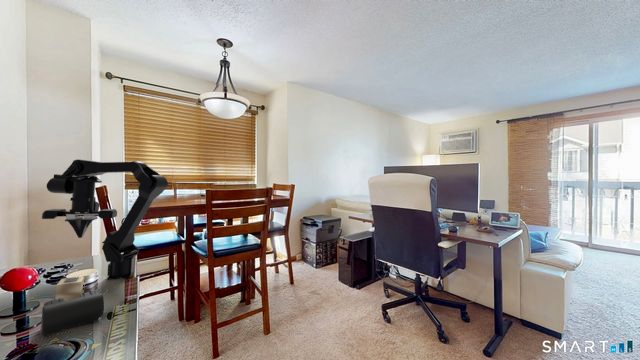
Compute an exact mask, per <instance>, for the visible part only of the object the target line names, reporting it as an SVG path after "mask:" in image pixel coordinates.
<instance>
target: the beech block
mask: <svg viewBox="0 0 640 360" xmlns="http://www.w3.org/2000/svg"><path fill="white" fill-rule="evenodd" d="M76 277H77V278H76ZM83 284H84V277H80V276H75V277H74V276H71V277H64V278H61V279H60V280H59V282H58V283H57V284H56V286H55V300H57V299H59V298H60V299H61V298H63V299H64V301H68V300H72V299H76V298H80V294H82V293H85V289H84V290H83ZM84 285H85V284H84Z"/></svg>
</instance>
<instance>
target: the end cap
mask: <svg viewBox="0 0 640 360" xmlns="http://www.w3.org/2000/svg"><path fill="white" fill-rule="evenodd" d="M104 309H105V299H104V295H103V292H96V291H95V290H90V291H87V292H84V293H82V294H80V298H76V299H72V300H68V301H64V299H63V298H61V299H60V298H59V299H57V300H56V299H54V300H49V301H46V302H45V303H44V304H43V306H42V308H41V322H40V323H41V324H40V326H41V327H40V335H41V336H43V337H47V336H50V335H54V334H57V333H59V332H63V331H66V330H70V329H73V328H77V327H80V326H82V325H87V324H89V323H92V322H95V321H98V320H100V318H102V317H103V315H104V311H105V310H104Z"/></svg>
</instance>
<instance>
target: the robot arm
mask: <svg viewBox="0 0 640 360" xmlns="http://www.w3.org/2000/svg"><path fill="white" fill-rule="evenodd" d="M108 173H109V174H111V173H114V174H115V173H132V174H133V176H134V179H135V180H136V181H137V182H138V183H139V185H138V190H137V191H138V195H137V198H136V199H135V201H134V203H133V204H132V206H131V208H130V209H129V211H128V212H127V214H126V217H125V218H124V220H123V221H122V223H121V225H120V226H119V228H118V230H114V231H111V232H108V233H107V234H106V235H105V236H106V237H105V239H104V240H103V241H102V242H101V244H102V248H101V250H102V251H103V254H104V258H105V261H106V262H107V263H108V265H107V280H112V279H114V280H115V279H116V280H117V279H125V278H130V277H132V275H133V274H134V273H135V269H134V266H135V265H134V264H135V256H137V255H138V254H139V252H140V249H139V248H138V247H137V246H136V245H135V244H134V243H135V239H136V238H135V232H136V230H137V229H138V227H139V225H140V223H141V222H142V220H143V218H144V216H145V215H146V213H147V211H148V210H149V208H150V207H151V205H152V203H153V201H154V200H155V199H156V198H158V197H159V196H160V195H161V194H162V193H163V192H164V191H165V190H166V189H167V188H168V185H169V182H168V179H167V178H166V177H165V176H164V175H161V174H160V173H158V172H157V170H154V169H152V168H151V167H150V166H149V165H147V164H146V163H145V162H143V161H137V160H136V161H135V160H134V161H133V160H132V161H115V162H114V161H110V162H109V161H108V162H107V161H105V162H101V161H97V160H85V159H74V160H72V163H71V164H70V165H69V166H68V167H67V168H66V169H65V171H64V172H63V173H62V174H58V173H57V174H53V177H52V178H50V179H49V180H48V181H47V183H46V189H47V191H49V192H50V193H51V194H52V193H53V194H64V195H65V194H66V195H67V194H69V195H71V196H72V197H70V200H69V201H70V202H71V207H70V208H71V209H69V211H67V210H66V208H51V209H46V210H44V211H43V212H42V214H41V219H42V220H55V219H57V217H61V218H62V217H65V219H64V222H68V224H69V225H70V226H71V228H72V229H73V231H74V232H75V234H76V236H77V238H79V239H82V238H83V237H84V235H85V234H86V231H87V229H89V226H90V225H91V223H92V222H93V221H96V220H97V219H98V217H99V219H113V218H114V219H115V218H116V217H118V211H117V209H116V208H110V209H109V208H104V209H100V205H101V203H99V202H97V201H96V197H95V193H96V192H95V190H96V183H97V184H98V183H99V184H101V183H103V182H102V180H101V179H99V178H98V176H101V175H104V174H108ZM99 209H100V210H99Z"/></svg>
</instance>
